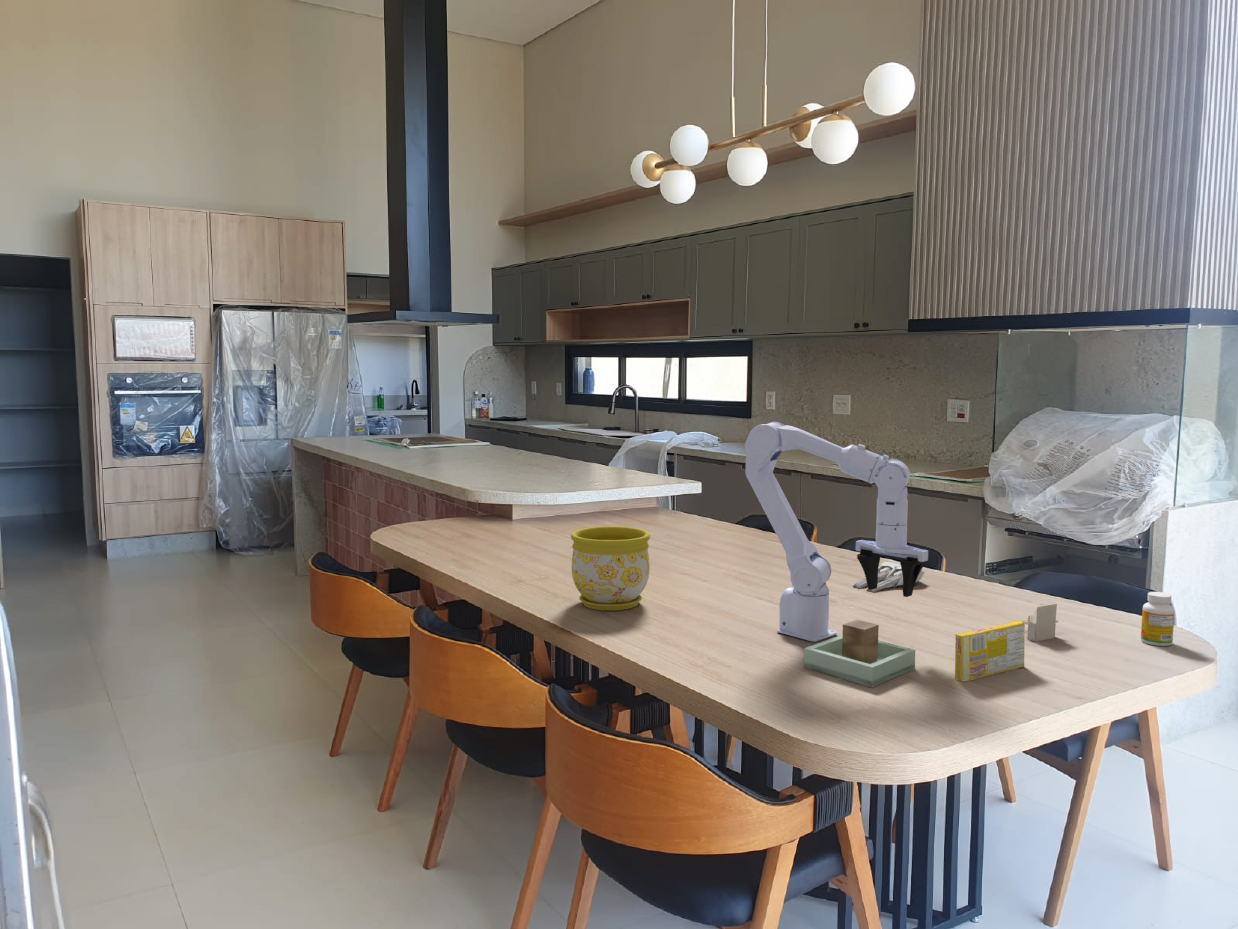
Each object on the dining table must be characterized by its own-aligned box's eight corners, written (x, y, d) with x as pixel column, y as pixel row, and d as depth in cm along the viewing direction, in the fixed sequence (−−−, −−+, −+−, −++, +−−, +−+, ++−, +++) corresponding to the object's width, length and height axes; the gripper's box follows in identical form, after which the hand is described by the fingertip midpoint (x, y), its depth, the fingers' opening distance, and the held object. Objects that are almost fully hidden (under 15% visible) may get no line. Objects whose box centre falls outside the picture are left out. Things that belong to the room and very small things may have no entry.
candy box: (1014, 664, 164) (1017, 620, 163) (1025, 667, 163) (1027, 623, 162) (952, 679, 157) (954, 633, 156) (962, 683, 155) (964, 636, 154)
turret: (847, 595, 223) (845, 576, 222) (899, 572, 233) (898, 554, 232) (879, 603, 214) (878, 585, 214) (932, 579, 225) (931, 561, 224)
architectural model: (1020, 639, 180) (1022, 603, 180) (1043, 634, 184) (1045, 599, 183) (1035, 644, 177) (1037, 607, 177) (1058, 639, 181) (1060, 603, 180)
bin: (803, 667, 163) (804, 648, 162) (847, 650, 172) (848, 632, 172) (871, 687, 152) (872, 667, 152) (914, 668, 162) (915, 649, 161)
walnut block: (841, 662, 162) (842, 624, 161) (855, 656, 165) (856, 619, 164) (863, 668, 159) (864, 629, 158) (877, 662, 162) (878, 624, 161)
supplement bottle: (1143, 636, 180) (1146, 589, 179) (1174, 641, 177) (1177, 593, 176) (1138, 643, 176) (1141, 594, 175) (1170, 648, 173) (1173, 599, 172)
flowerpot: (612, 619, 193) (612, 544, 191) (554, 604, 205) (554, 533, 204) (666, 603, 206) (666, 532, 205) (608, 589, 219) (608, 523, 217)
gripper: (847, 521, 176) (846, 589, 177) (915, 530, 165) (913, 603, 166) (867, 516, 180) (865, 583, 182) (934, 526, 170) (932, 596, 171)
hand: (889, 592), depth 175 cm, fingers open, 7 cm apart
